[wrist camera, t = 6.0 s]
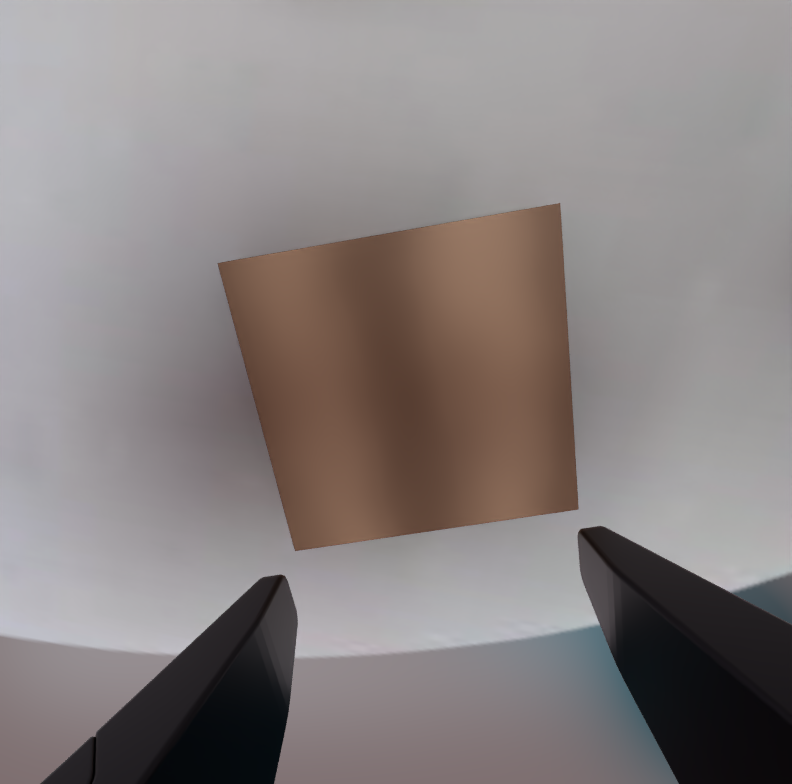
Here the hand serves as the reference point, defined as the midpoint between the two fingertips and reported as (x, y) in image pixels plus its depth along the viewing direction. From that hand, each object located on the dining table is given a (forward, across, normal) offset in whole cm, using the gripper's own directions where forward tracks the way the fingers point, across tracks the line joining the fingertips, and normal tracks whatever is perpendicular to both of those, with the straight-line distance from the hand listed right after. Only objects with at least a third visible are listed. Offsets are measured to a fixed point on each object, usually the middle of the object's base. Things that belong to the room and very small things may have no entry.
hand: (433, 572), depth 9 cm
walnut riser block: (+14, 0, 0) cm, 14 cm away
